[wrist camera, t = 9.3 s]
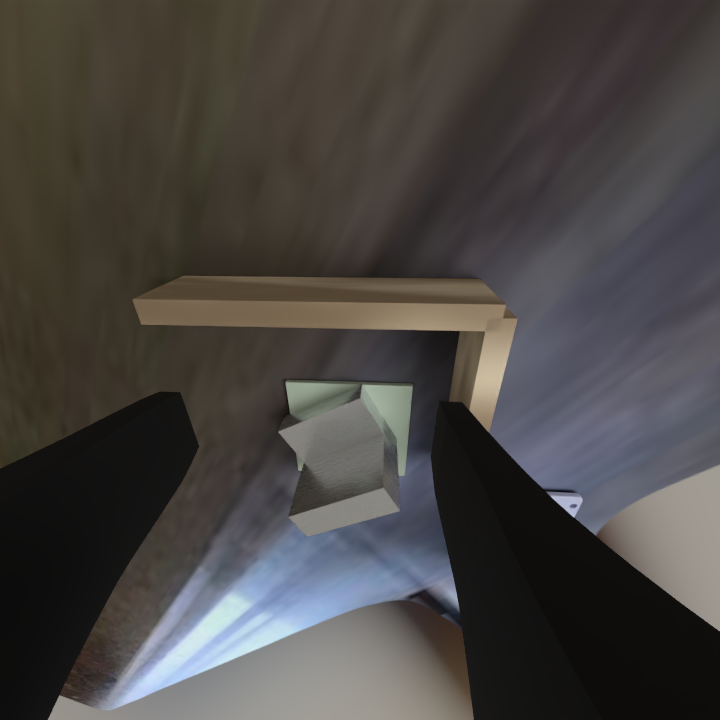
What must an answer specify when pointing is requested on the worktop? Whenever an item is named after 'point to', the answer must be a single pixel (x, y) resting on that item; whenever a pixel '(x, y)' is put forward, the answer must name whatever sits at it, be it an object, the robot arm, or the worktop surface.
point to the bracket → (342, 462)
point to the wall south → (482, 368)
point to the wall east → (324, 303)
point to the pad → (385, 396)
